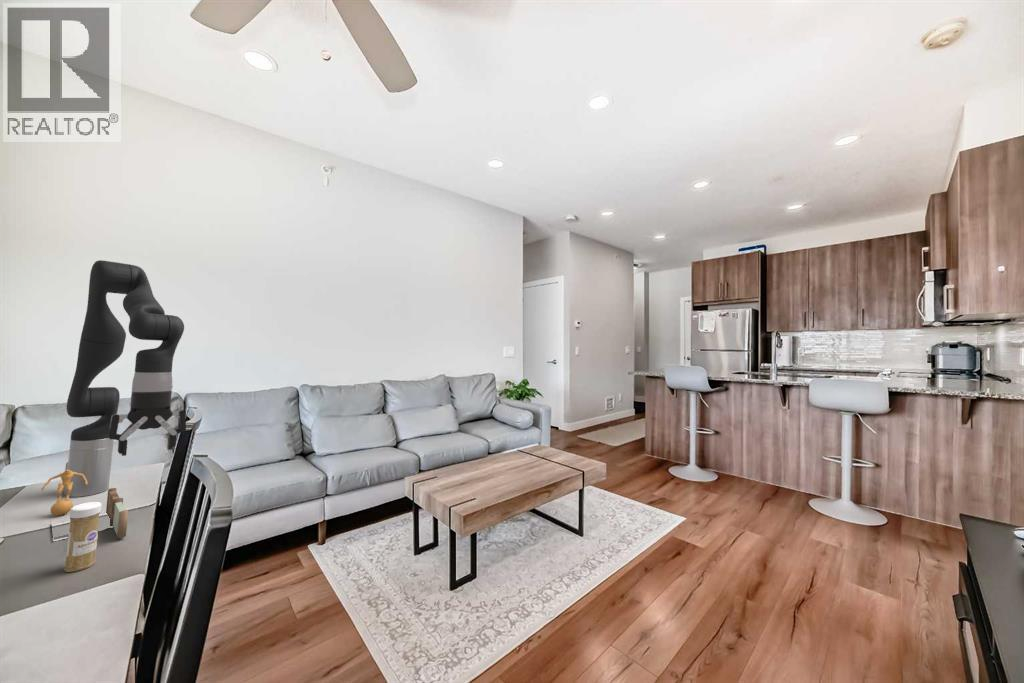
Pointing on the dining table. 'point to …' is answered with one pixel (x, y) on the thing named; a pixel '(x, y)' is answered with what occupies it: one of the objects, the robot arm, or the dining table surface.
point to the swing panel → (120, 520)
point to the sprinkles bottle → (82, 536)
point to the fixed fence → (112, 503)
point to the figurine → (61, 505)
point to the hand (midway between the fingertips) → (147, 452)
